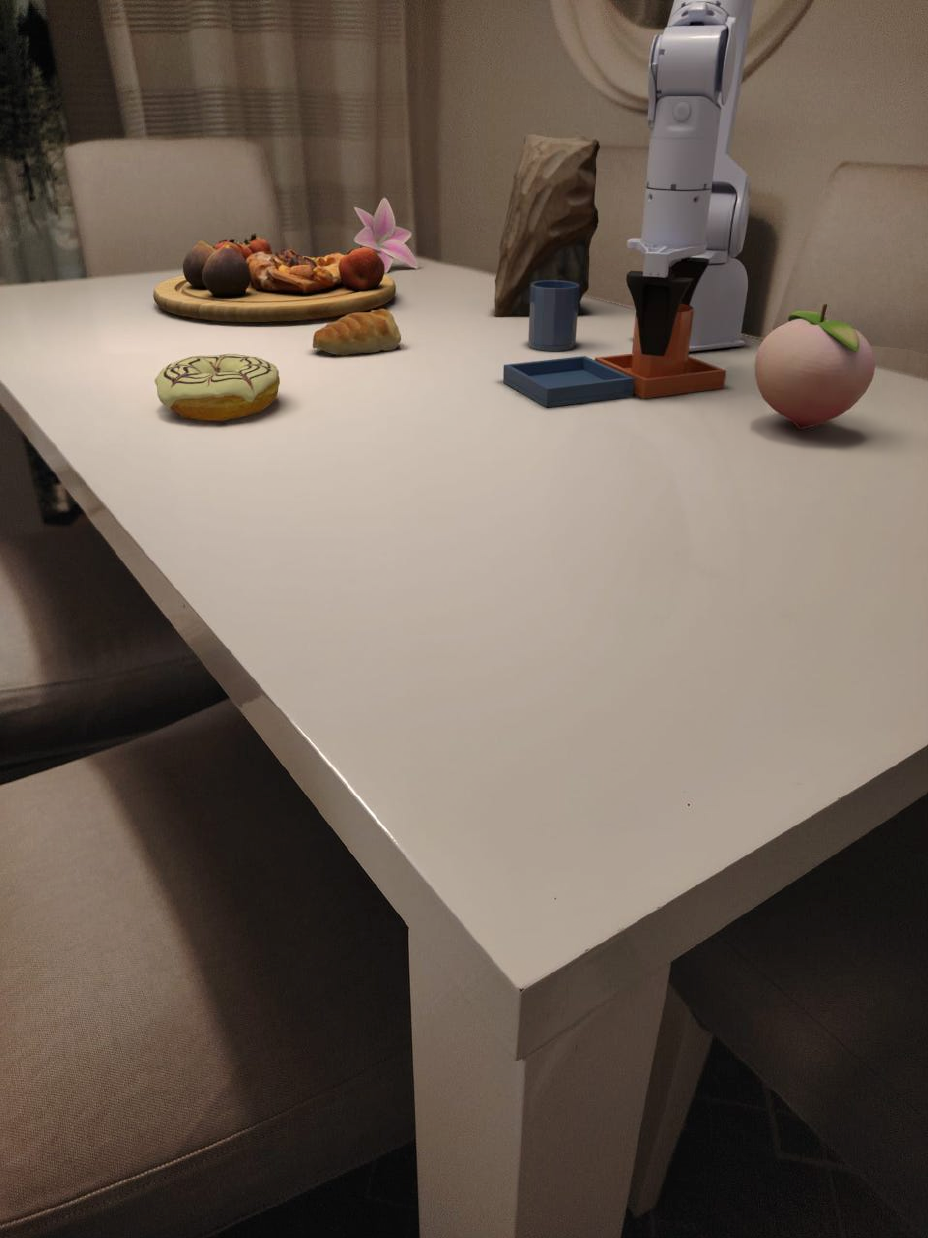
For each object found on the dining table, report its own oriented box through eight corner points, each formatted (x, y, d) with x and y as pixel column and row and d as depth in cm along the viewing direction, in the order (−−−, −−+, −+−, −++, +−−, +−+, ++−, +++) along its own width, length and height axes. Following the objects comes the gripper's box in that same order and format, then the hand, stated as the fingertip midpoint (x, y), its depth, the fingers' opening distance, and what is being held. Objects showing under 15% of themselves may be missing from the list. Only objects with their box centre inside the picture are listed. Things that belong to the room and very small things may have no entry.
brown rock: (504, 297, 125) (508, 132, 115) (596, 300, 123) (608, 133, 113) (489, 315, 114) (492, 136, 104) (590, 320, 112) (603, 137, 102)
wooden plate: (442, 294, 127) (441, 230, 123) (287, 338, 103) (280, 261, 99) (272, 273, 142) (266, 215, 138) (103, 307, 118) (90, 239, 114)
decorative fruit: (722, 418, 78) (740, 297, 73) (798, 408, 81) (820, 290, 76) (797, 453, 70) (823, 320, 65) (878, 439, 73) (908, 311, 68)
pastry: (333, 361, 94) (330, 323, 92) (300, 349, 99) (297, 313, 97) (406, 348, 99) (405, 312, 98) (372, 337, 104) (370, 303, 102)
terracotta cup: (664, 367, 91) (672, 299, 88) (696, 380, 87) (705, 309, 83) (619, 372, 89) (626, 303, 86) (650, 386, 85) (657, 314, 82)
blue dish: (583, 372, 91) (585, 355, 90) (632, 396, 84) (634, 378, 83) (502, 382, 88) (503, 364, 87) (546, 407, 80) (547, 388, 80)
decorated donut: (147, 426, 75) (139, 381, 74) (174, 390, 85) (167, 349, 83) (273, 423, 76) (268, 378, 74) (286, 388, 85) (282, 347, 83)
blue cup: (560, 338, 104) (564, 278, 100) (584, 348, 100) (588, 286, 96) (520, 342, 102) (522, 281, 99) (542, 353, 98) (544, 289, 94)
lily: (343, 281, 141) (365, 225, 135) (329, 240, 148) (349, 185, 142) (411, 300, 148) (435, 247, 141) (394, 260, 154) (417, 208, 148)
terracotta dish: (669, 365, 93) (671, 349, 92) (723, 388, 86) (726, 370, 85) (593, 374, 90) (594, 357, 89) (643, 398, 83) (645, 380, 82)
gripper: (649, 180, 87) (636, 325, 93) (614, 193, 75) (601, 358, 82) (724, 182, 84) (705, 331, 91) (700, 196, 73) (679, 366, 80)
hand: (661, 345), depth 86 cm, fingers open, 7 cm apart
